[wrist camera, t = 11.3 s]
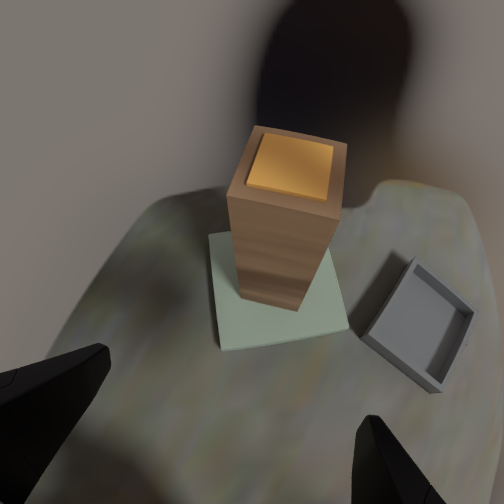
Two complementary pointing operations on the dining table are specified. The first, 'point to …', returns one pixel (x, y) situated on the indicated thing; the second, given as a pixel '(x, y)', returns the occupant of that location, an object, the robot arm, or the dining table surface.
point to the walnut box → (284, 213)
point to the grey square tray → (422, 327)
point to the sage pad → (268, 317)
